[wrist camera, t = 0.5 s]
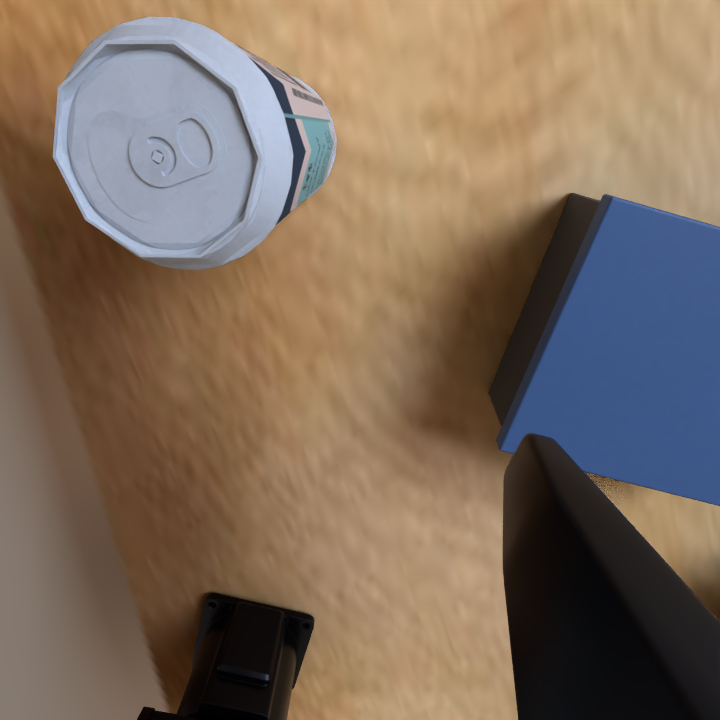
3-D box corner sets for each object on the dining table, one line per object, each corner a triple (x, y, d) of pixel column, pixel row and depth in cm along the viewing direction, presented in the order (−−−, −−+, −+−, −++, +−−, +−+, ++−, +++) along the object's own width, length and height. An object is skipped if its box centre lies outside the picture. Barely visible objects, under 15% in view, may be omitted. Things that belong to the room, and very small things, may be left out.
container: (713, 457, 26) (777, 521, 21) (479, 396, 25) (498, 451, 21) (839, 261, 22) (949, 293, 17) (566, 182, 21) (612, 195, 17)
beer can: (197, 98, 20) (-25, 62, 9) (313, 54, 19) (220, -42, 9) (245, 219, 22) (106, 310, 11) (353, 183, 21) (319, 242, 10)
